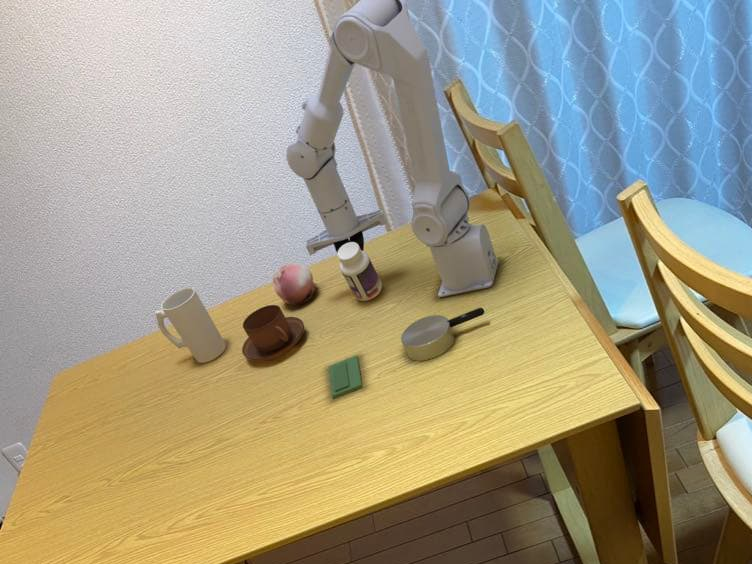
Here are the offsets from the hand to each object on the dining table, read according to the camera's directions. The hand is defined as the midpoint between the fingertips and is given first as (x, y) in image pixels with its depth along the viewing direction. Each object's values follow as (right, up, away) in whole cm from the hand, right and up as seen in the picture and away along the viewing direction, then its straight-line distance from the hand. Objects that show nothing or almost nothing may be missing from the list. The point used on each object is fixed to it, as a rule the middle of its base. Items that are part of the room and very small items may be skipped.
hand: (363, 273), depth 155 cm
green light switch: (-2, -22, -17) cm, 28 cm away
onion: (-12, -2, +8) cm, 14 cm away
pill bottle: (+1, -3, -1) cm, 4 cm away
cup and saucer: (-15, -14, -2) cm, 20 cm away
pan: (+14, -16, -20) cm, 30 cm away
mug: (-30, -13, +7) cm, 34 cm away
